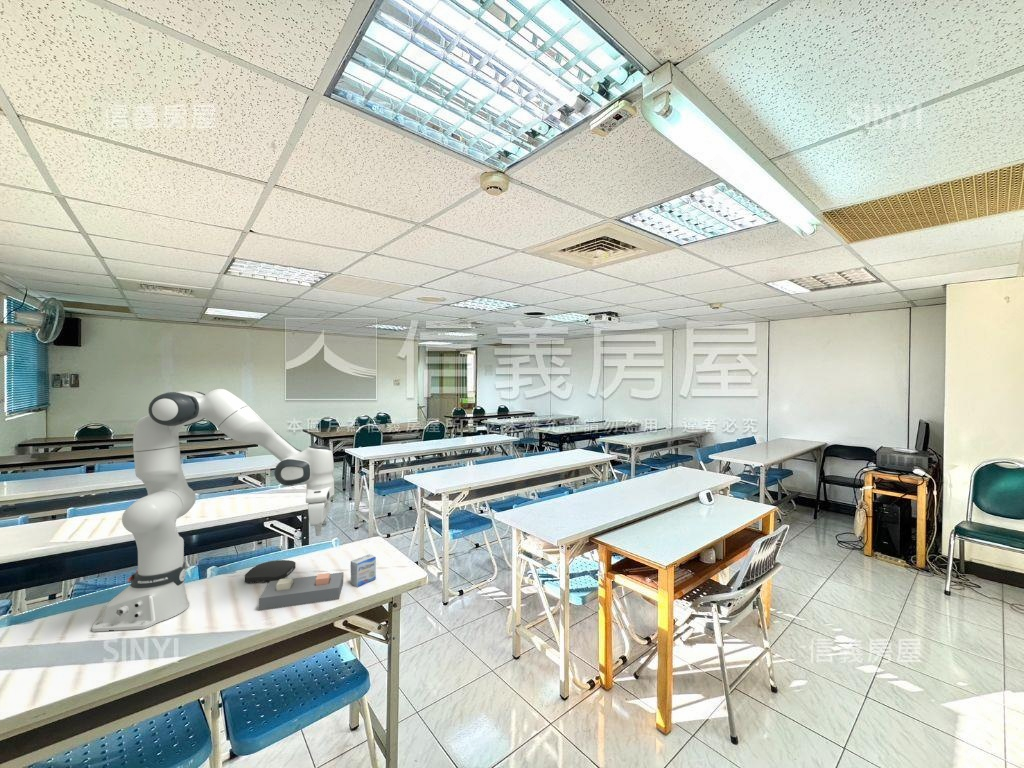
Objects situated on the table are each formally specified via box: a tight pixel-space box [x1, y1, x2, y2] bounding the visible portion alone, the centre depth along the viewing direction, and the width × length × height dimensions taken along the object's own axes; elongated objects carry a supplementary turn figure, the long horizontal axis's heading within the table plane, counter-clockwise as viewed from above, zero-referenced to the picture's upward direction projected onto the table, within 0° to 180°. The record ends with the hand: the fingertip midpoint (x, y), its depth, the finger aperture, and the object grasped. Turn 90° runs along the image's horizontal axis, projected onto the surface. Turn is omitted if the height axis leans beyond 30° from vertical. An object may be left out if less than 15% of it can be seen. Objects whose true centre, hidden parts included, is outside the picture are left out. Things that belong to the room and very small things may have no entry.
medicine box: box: [350, 553, 377, 588], centre depth 147 cm, size 8×4×9 cm, turn 143°
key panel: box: [258, 571, 344, 612], centre depth 136 cm, size 24×12×4 cm, turn 107°
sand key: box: [276, 577, 294, 591], centre depth 135 cm, size 4×4×3 cm
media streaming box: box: [244, 559, 297, 584], centre depth 153 cm, size 15×15×3 cm
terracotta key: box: [316, 572, 331, 586], centre depth 138 cm, size 4×4×3 cm
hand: (321, 530), depth 138 cm, fingers open, 8 cm apart
